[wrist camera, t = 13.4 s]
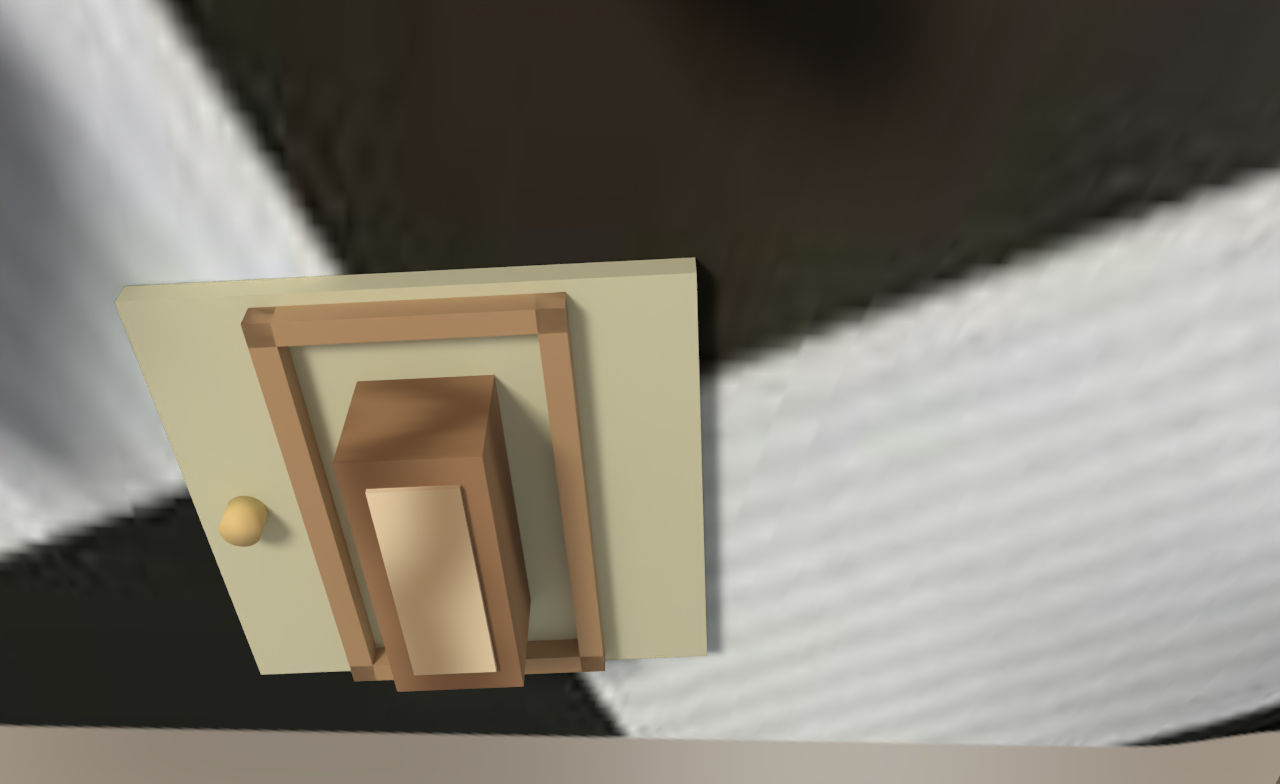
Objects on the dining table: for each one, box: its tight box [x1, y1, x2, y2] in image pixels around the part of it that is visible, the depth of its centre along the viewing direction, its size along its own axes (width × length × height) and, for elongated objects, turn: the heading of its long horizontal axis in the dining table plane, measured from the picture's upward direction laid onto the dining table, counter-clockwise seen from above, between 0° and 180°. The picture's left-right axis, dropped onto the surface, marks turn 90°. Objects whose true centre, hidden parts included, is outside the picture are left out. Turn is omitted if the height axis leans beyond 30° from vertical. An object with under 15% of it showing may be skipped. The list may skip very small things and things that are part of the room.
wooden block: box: [332, 375, 531, 692], centre depth 44 cm, size 5×12×5 cm, turn 3°
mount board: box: [115, 258, 707, 681], centre depth 46 cm, size 20×20×2 cm
